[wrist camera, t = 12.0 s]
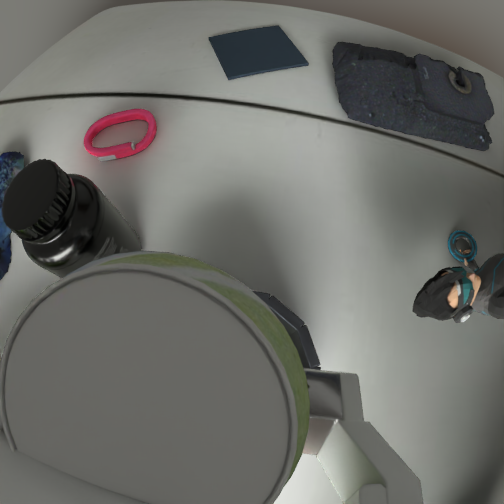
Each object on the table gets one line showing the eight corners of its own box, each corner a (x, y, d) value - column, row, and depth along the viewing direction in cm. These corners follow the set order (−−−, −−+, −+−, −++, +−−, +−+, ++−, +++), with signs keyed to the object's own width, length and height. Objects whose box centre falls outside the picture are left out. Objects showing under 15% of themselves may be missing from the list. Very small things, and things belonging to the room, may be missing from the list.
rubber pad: (278, 27, 37) (278, 25, 37) (308, 65, 34) (308, 63, 34) (208, 39, 36) (208, 37, 36) (228, 80, 33) (228, 77, 33)
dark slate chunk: (324, 44, 36) (329, 17, 31) (462, 76, 35) (474, 55, 30) (337, 124, 31) (347, 93, 26) (497, 156, 30) (517, 135, 26)
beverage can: (160, 293, 16) (4, 164, 5) (298, 336, 15) (387, 260, 4) (124, 403, 14) (-71, 427, 3) (260, 453, 13) (249, 623, 2)
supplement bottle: (135, 211, 28) (75, 127, 16) (151, 281, 26) (82, 221, 14) (71, 237, 27) (-6, 172, 16) (82, 306, 25) (-11, 265, 14)
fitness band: (83, 166, 30) (77, 158, 28) (93, 125, 31) (88, 116, 30) (155, 153, 30) (151, 143, 28) (159, 111, 32) (156, 102, 30)
